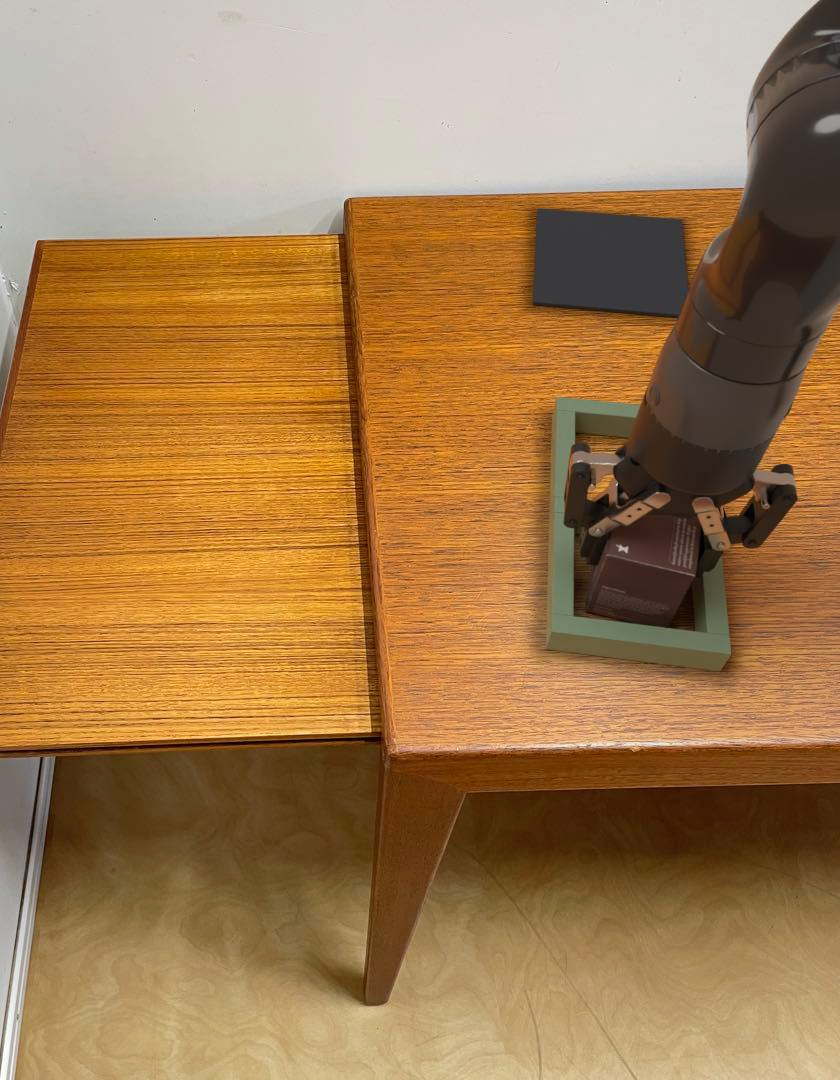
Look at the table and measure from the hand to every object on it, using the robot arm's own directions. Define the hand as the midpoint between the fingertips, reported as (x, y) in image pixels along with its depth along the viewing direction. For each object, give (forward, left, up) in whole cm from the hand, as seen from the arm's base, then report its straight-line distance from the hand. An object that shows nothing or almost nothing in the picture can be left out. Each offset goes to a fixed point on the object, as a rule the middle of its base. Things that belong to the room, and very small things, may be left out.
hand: (641, 560), depth 70 cm
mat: (+1, -37, -4) cm, 37 cm away
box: (0, 0, -4) cm, 4 cm away
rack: (0, -5, -4) cm, 6 cm away
